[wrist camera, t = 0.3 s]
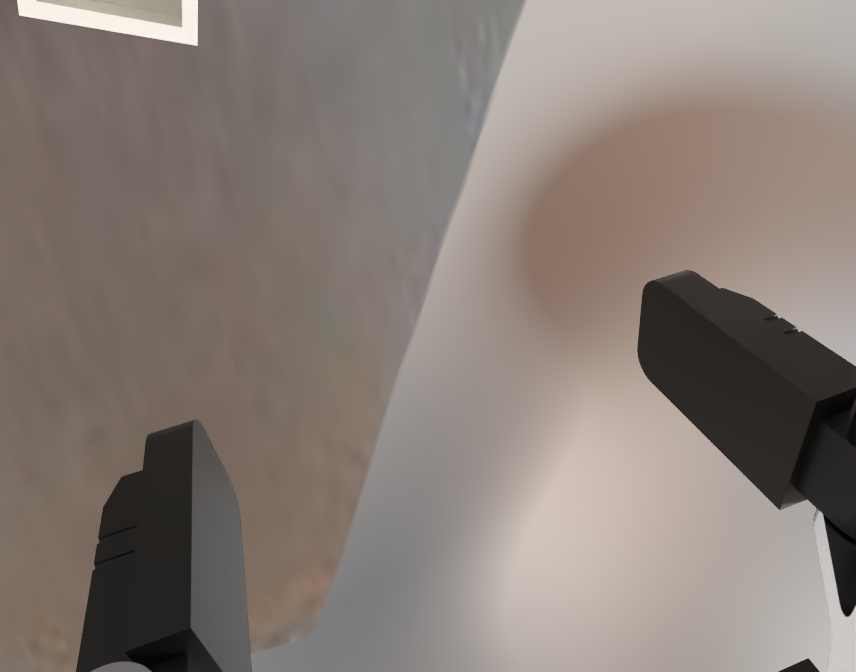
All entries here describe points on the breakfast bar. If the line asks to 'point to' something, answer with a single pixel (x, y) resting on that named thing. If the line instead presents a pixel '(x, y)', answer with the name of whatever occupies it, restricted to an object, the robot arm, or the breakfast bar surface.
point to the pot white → (123, 16)
